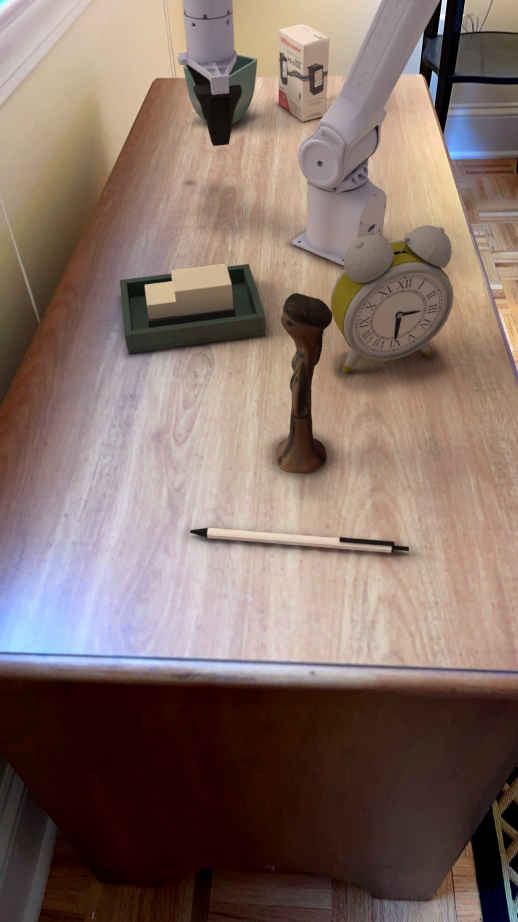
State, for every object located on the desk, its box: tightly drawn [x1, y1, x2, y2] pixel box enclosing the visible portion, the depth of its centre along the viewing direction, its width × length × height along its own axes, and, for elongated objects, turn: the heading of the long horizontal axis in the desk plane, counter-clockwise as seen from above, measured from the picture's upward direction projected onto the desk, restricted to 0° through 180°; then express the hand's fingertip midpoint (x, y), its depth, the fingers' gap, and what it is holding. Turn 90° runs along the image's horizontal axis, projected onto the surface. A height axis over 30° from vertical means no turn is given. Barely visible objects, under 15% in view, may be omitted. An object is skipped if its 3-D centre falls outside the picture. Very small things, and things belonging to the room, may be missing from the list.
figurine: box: [275, 292, 333, 474], centre depth 60 cm, size 7×5×18 cm
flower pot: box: [182, 53, 258, 126], centre depth 112 cm, size 9×9×9 cm
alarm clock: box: [330, 224, 454, 373], centre depth 70 cm, size 12×7×15 cm, turn 105°
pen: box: [187, 527, 410, 554], centre depth 59 cm, size 1×19×1 cm, turn 84°
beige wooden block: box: [145, 263, 236, 328], centre depth 79 cm, size 10×4×5 cm, turn 100°
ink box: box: [277, 23, 330, 122], centre depth 113 cm, size 8×5×12 cm, turn 28°
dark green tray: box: [119, 263, 266, 355], centre depth 80 cm, size 16×11×3 cm
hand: (216, 131), depth 90 cm, fingers open, 7 cm apart
